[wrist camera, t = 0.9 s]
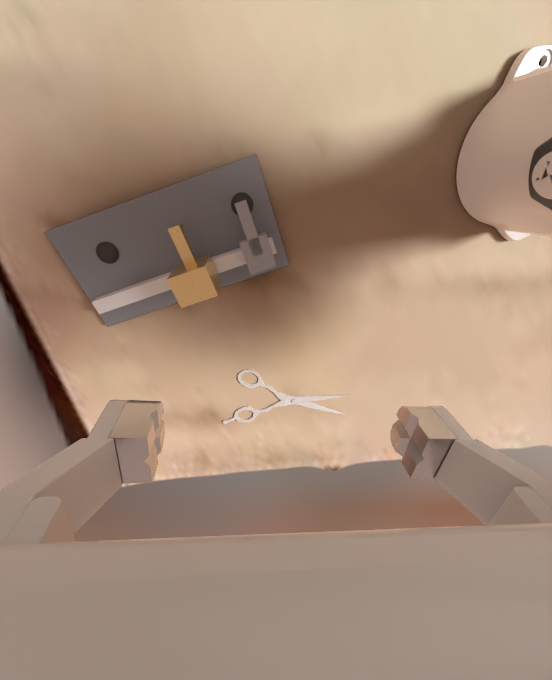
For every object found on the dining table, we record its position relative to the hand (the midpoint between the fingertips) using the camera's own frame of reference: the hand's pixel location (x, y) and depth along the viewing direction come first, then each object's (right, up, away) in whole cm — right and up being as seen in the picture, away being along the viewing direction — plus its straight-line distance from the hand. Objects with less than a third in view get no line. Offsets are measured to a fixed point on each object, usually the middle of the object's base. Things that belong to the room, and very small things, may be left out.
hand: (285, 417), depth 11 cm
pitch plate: (-12, +13, +25) cm, 31 cm away
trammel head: (-10, +12, +24) cm, 29 cm away
